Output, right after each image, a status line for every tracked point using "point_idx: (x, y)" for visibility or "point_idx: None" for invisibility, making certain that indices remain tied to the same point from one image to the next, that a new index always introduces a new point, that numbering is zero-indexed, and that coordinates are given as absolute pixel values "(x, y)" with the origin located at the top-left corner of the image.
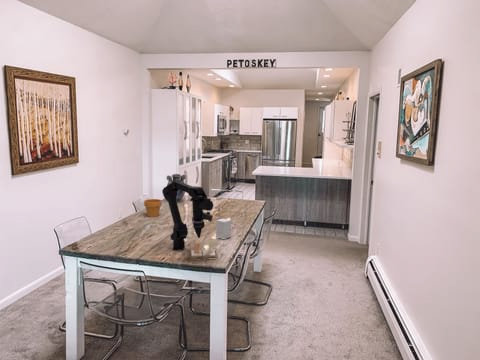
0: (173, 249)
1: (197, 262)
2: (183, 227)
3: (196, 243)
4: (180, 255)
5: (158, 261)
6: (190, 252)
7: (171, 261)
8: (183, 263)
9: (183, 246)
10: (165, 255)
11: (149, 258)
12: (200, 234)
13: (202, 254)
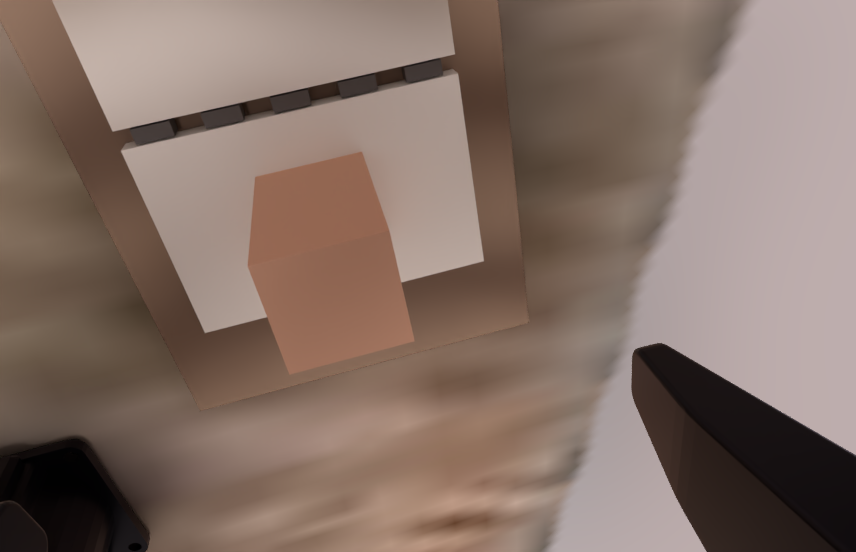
0: (145, 547)
1: (601, 111)
2: None
3: (273, 327)
4: (328, 406)
5: (551, 527)
6: None
7: (553, 428)
8: (625, 291)
9: (23, 489)
10: (361, 539)
11: None
12: (797, 423)
13: (409, 76)
